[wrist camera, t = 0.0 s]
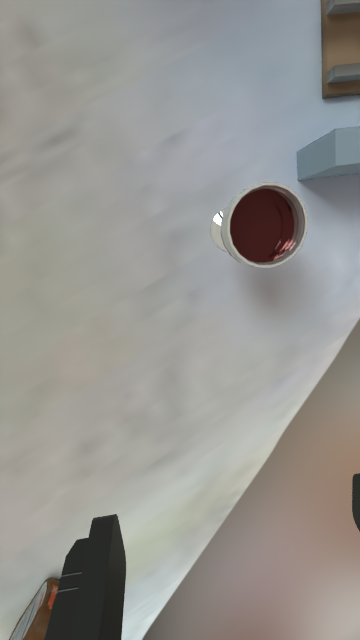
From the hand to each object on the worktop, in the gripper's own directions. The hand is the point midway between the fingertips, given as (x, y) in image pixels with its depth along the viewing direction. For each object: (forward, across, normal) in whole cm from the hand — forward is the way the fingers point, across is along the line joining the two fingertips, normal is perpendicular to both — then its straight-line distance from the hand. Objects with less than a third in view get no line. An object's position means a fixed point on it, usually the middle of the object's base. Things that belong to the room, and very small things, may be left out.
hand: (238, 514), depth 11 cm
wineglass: (+30, -8, -9) cm, 32 cm away
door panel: (+30, -22, -15) cm, 40 cm away
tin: (+30, +25, +40) cm, 56 cm away
